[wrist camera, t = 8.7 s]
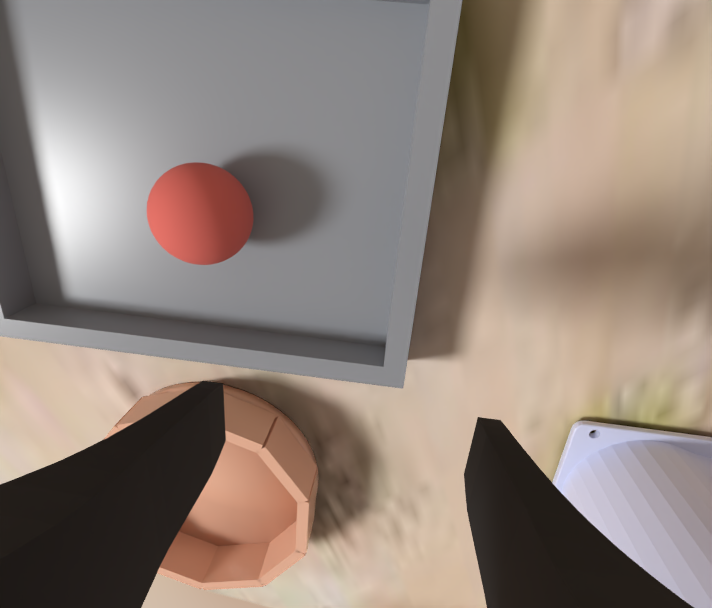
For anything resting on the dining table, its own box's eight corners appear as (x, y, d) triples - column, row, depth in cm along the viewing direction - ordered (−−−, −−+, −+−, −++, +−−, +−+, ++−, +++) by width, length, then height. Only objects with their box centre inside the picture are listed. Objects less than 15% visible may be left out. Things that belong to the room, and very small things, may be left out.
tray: (459, -23, 15) (469, -48, 13) (403, 360, 22) (403, 388, 19) (-58, -60, 17) (-132, -89, 14) (30, 313, 23) (-11, 334, 21)
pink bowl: (324, 393, 23) (312, 432, 20) (313, 555, 28) (303, 606, 25) (107, 364, 24) (65, 398, 21) (134, 527, 29) (104, 573, 26)
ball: (265, 164, 18) (233, 173, 14) (264, 255, 20) (234, 284, 16) (173, 154, 18) (118, 160, 15) (179, 245, 20) (130, 271, 16)
